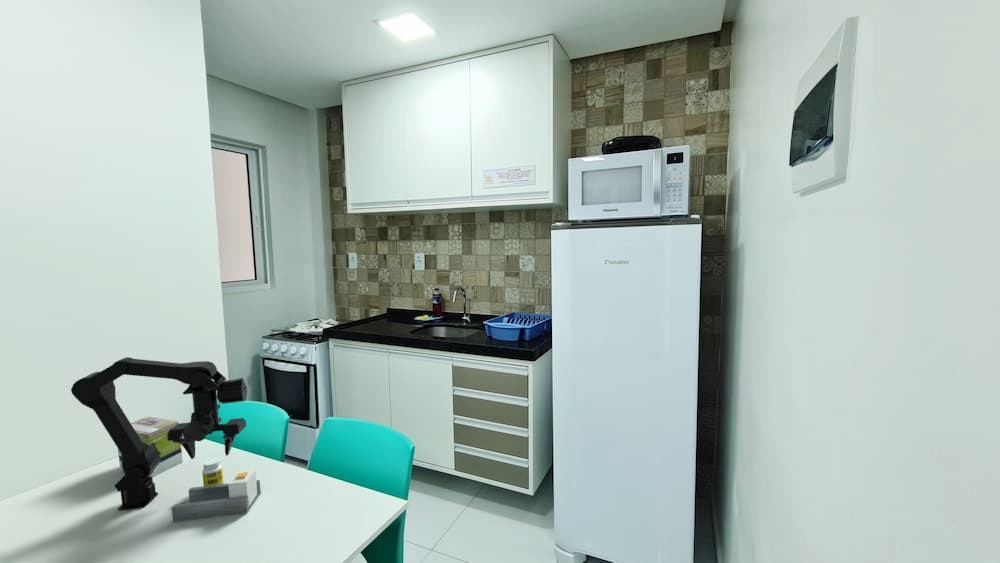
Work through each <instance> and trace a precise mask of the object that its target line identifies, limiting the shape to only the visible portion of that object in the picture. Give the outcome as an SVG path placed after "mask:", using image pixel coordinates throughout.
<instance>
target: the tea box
mask: <svg viewBox="0 0 1000 563" xmlns="http://www.w3.org/2000/svg"><path fill="white" fill-rule="evenodd" d="M130 423H131V425H132V427H133V428H134V430H135V431H136V433H137V435H138V436H139V438H140V439H141V441H142V442H143V443H145V444H147V445H150V444H152V443H155V445H156V447H157V449H158V451H159V452H161V454H160V457H161V460H160V463H159V465H158V466H157V467H156V468H155V469H154V471H153V473H151V474H150V476H149V477H152V478H154V477H156V476H158V475H160V474H162V473H164V472H166V471H167V470H170V469H172V468H174V467H176V466H177V465H180V464H181V463H183V462H184V461H183V451H182V445H181V444H179V443H174V442H173V440H172V441H168V440H167V433H168V431H169V430H170V429H172V428H173V427H174V426H176V425H177V424H179V421H177V420H170V419H166V418H164V419H163V418H158V417H152V416H145V417H143V418H141V419H138V420H134V421H133V422H130ZM117 454H118V460H119V461H118V462H119V467H120V471H122V472H124V471H123V468H122V455H121V452H120V451H119V449H118V448H117Z"/></svg>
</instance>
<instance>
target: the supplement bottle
mask: <svg viewBox="0 0 1000 563" xmlns="http://www.w3.org/2000/svg"><path fill="white" fill-rule="evenodd" d="M202 466H203V469H202V483H203V486H212V485H220V484H224V476H223V467H222V464H221V459H220V458H215V457H214V458H210V459H207V460H206V461H204V462H203V465H202Z"/></svg>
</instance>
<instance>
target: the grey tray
mask: <svg viewBox="0 0 1000 563" xmlns="http://www.w3.org/2000/svg"><path fill="white" fill-rule="evenodd" d="M256 481H257V492H258V493H257V494H256V496H255V497H254V499H253V500H252V502H251V503H250V505H249V499H248V496H245V497H236V498H230V497H229V487H228V483H223V484H220V485H212V486H204V485H202V486H195V487H194V486H193V487H190V488H189V489H188V498H189V500H188V501H187V502H185V503H179V504H173V506H171V515H172V523H176V522H185V521H186V520H187V521H192V520H202V519H209V518H218V517H223V516H224V517H225V516H226V517H227V516H232V515H240V514H248V513H249V512H250V509H251V508H252V507H253V505H255V502H256V501H257V499H258V498H259V497H260V495H261V493H262V489H261V481H260V479H256Z"/></svg>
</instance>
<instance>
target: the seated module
mask: <svg viewBox="0 0 1000 563" xmlns="http://www.w3.org/2000/svg"><path fill="white" fill-rule="evenodd" d="M256 480H257V471H256V469H250V470H249V469H248V470H242V471H240V470H239V471H238V472H237V473H236V474H235V475H234V476H233V477H232V479H231V480H230V481H229V482H228V483H227V484H228V487H229V497H230V498H236V497H245V496H248V499H249V505H250V503H251V502H252V500H253V499H254V497H255V496H256V494H257V493H258V492H257V481H256Z"/></svg>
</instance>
